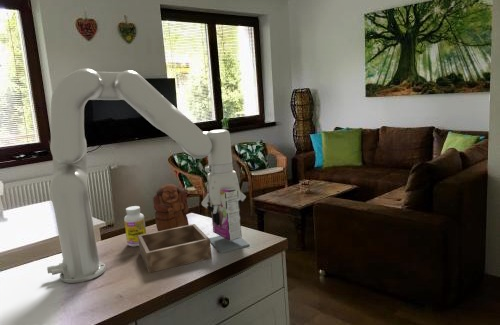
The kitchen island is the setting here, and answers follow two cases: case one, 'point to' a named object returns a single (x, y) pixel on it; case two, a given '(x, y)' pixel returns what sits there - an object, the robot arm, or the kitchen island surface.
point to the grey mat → (227, 243)
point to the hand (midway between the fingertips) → (225, 221)
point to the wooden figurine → (170, 207)
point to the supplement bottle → (134, 225)
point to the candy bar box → (228, 215)
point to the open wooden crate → (174, 247)
